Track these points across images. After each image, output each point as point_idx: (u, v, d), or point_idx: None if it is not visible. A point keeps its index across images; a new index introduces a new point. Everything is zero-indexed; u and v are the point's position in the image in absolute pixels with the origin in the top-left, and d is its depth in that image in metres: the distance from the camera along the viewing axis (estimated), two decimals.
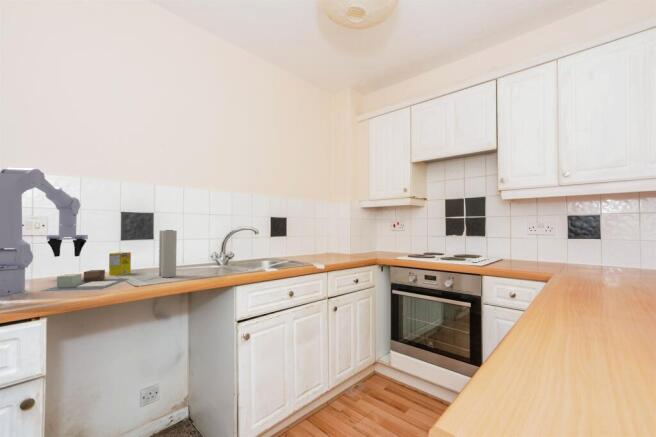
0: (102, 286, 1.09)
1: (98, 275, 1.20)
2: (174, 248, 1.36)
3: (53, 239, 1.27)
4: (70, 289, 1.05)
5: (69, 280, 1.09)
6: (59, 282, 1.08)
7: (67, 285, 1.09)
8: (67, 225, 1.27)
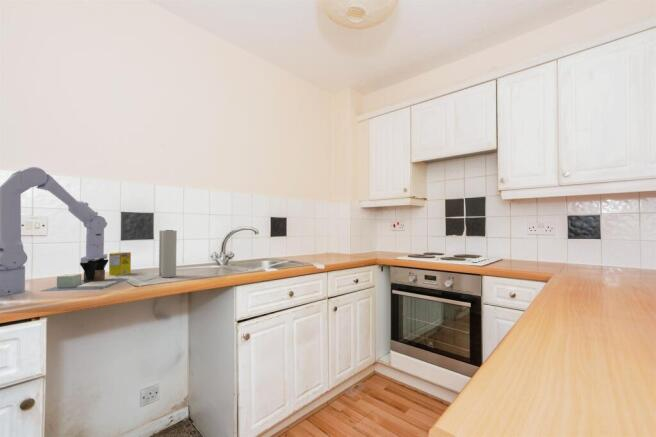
0: (102, 286, 1.09)
1: (98, 275, 1.20)
2: (174, 248, 1.36)
3: None
4: (70, 289, 1.05)
5: (69, 280, 1.09)
6: (59, 282, 1.08)
7: (67, 285, 1.09)
8: (86, 246, 1.20)
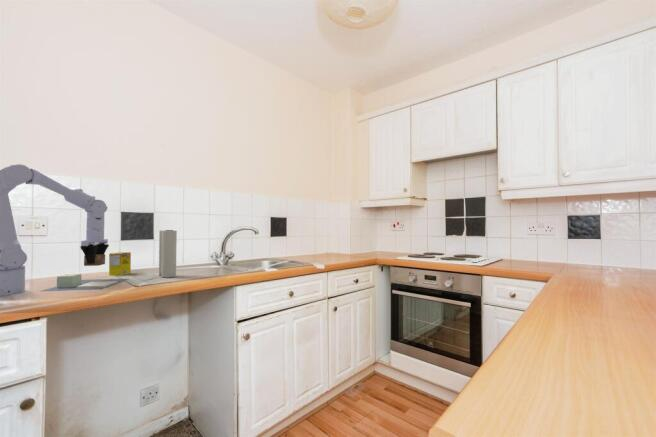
0: (102, 286, 1.09)
1: (98, 259, 1.20)
2: (174, 248, 1.36)
3: None
4: (70, 289, 1.05)
5: (69, 280, 1.09)
6: (59, 282, 1.08)
7: (67, 285, 1.09)
8: (86, 229, 1.20)
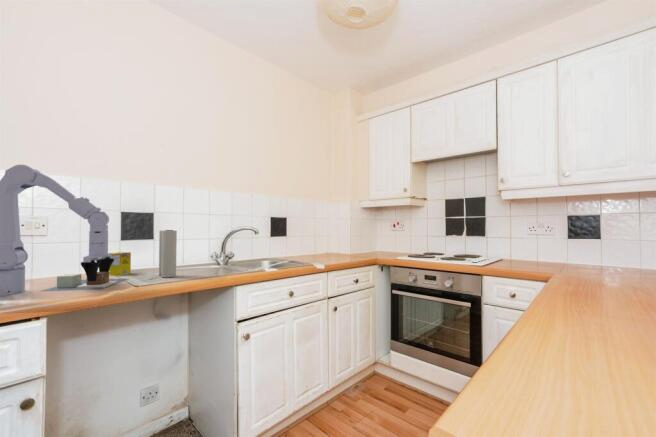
0: (102, 286, 1.09)
1: (102, 277, 1.11)
2: (174, 248, 1.36)
3: None
4: (70, 289, 1.05)
5: (69, 280, 1.09)
6: (59, 282, 1.08)
7: (67, 285, 1.09)
8: None
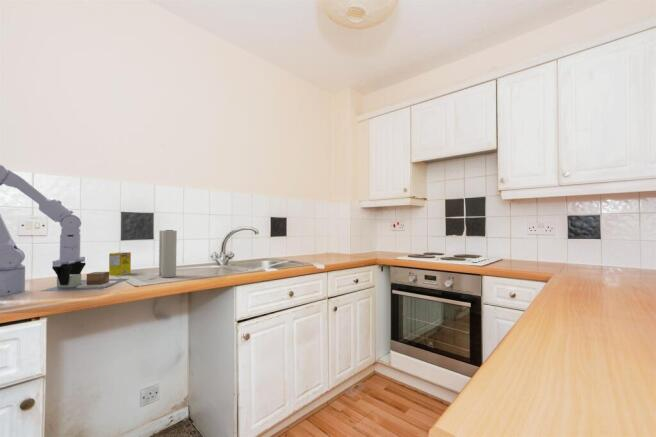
0: (102, 286, 1.09)
1: (102, 277, 1.11)
2: (174, 248, 1.36)
3: None
4: (70, 289, 1.05)
5: (69, 280, 1.09)
6: (59, 282, 1.08)
7: (67, 285, 1.09)
8: None
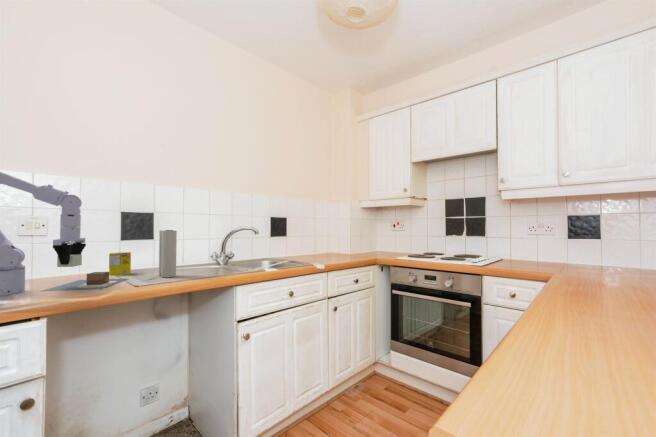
0: (102, 286, 1.09)
1: (102, 277, 1.11)
2: (174, 248, 1.36)
3: None
4: (70, 289, 1.05)
5: (69, 259, 1.09)
6: (59, 261, 1.08)
7: (67, 265, 1.09)
8: (60, 227, 1.10)
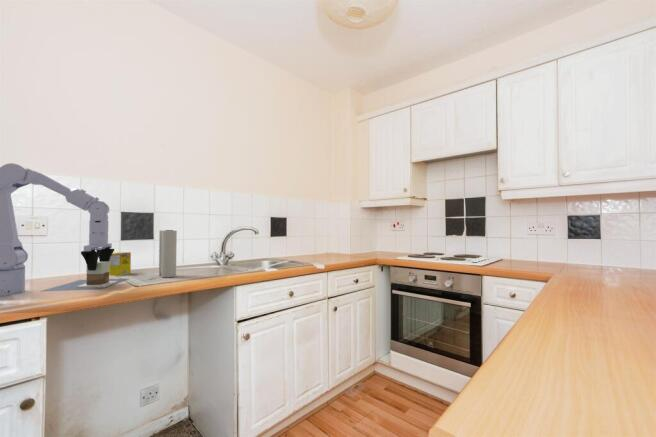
0: (102, 286, 1.09)
1: (102, 277, 1.11)
2: (174, 248, 1.36)
3: None
4: (70, 289, 1.05)
5: (98, 267, 1.11)
6: None
7: (96, 272, 1.10)
8: (89, 233, 1.11)
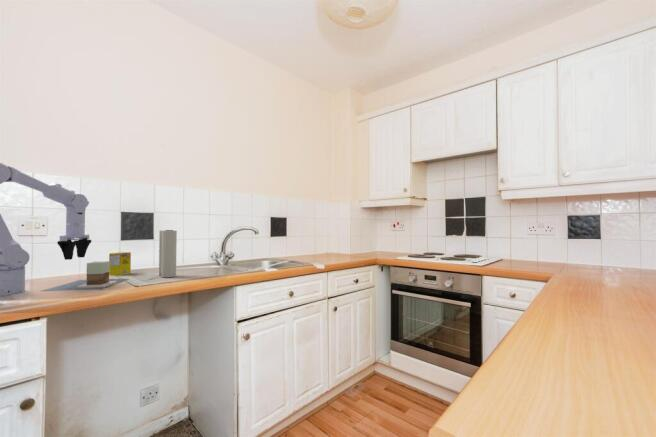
0: (102, 286, 1.09)
1: (102, 277, 1.11)
2: (174, 248, 1.36)
3: None
4: (70, 289, 1.05)
5: (98, 267, 1.11)
6: (89, 269, 1.10)
7: (96, 272, 1.10)
8: (66, 224, 1.17)
